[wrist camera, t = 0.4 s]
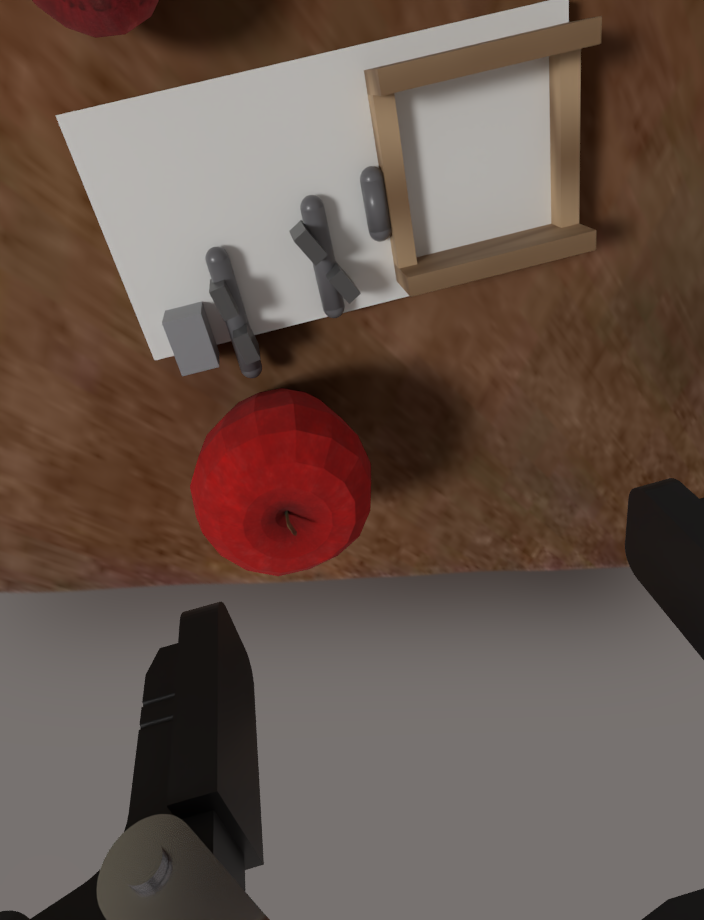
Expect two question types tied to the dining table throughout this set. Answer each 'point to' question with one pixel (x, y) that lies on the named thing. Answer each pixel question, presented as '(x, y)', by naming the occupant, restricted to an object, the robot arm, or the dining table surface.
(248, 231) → the board
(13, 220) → the dining table surface
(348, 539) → the apple
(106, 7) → the onion
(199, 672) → the robot arm
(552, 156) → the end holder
